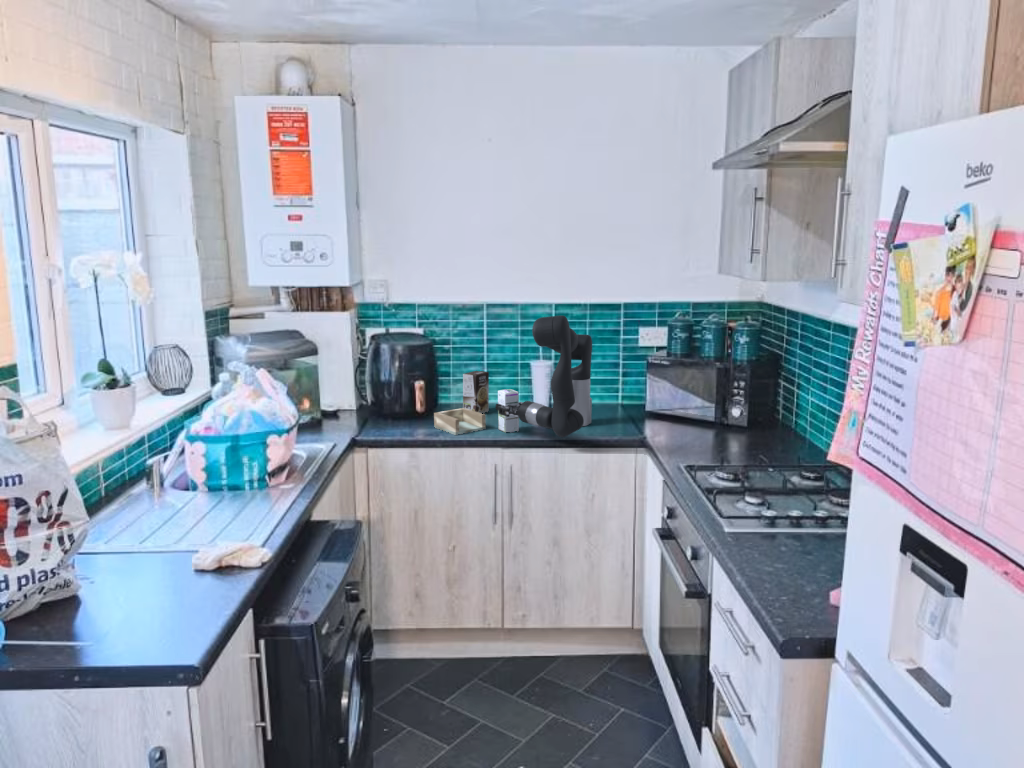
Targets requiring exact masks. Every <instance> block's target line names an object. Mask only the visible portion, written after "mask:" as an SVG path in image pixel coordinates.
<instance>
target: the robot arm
mask: <svg viewBox="0 0 1024 768" xmlns="http://www.w3.org/2000/svg"><path fill="white" fill-rule="evenodd" d="M531 329H532V330H531V331H532V337H533V339H534V342H535V343H536V344H537V346H539V347H542V348H545V347H546V348H549V349H550V350H553V352H556V353H558V354H560V357H559V360H558V361H557V362H558V363H557V365H556V367H555V368H554V371H553V373H552V375H551V381H550V390H551V396H552V402H553V403H552V407H550V406H547V405H544V404H542V403H538V402H534V401H532V400H531V401H530V400H526V401H524V402H522V401H519V405H508V406H505V405H501V404H498V403H496V404H495V410H496V411H497V412H498V411H499V414H501V415H504V416H507V417H509V416H510V415H515V416H518V417H519V420H520V421H521V422H522V423H526V424H529V425H533V426H536V427H541V428H545V429H548V430H549V429H550V430H552V431H553V433H554V434H555V435H556V436H557V437H559V438H565V437H567V436H569V435H571V434H573V433H575V432H577V431H578V430H580V429H581V428H582V427H587V426H588V425H590V424H592V414H593V412H592V411H593V406H592V405H593V398H592V397H591V373H592V369H591V368H592V356H593V355H592V353H593V340H592V336H591V335H590V334H580V333H578V334H577V332H576V331H575V330H573V329H572V328H571V327H570V322H569V319H568V318H567V317H566V315H554V316H553V315H552V316H542V317H539V318H537V319H535V320H534V322H533V326H532V328H531ZM572 360H574V361H577V360H578V361H581V362H580V364H578V365H577V366H574V367H572ZM511 407H512V411H511Z"/></svg>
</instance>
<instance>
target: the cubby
mask: <svg viewBox="0 0 1024 768" xmlns="http://www.w3.org/2000/svg"><path fill="white" fill-rule="evenodd" d="M486 421H487V420H486V413H483V414H482V413H479V412H475V411H472V410H469V409H466V408H463V407H461V408H456V409H455V408H454V409H449V410H444V411H443V410H442V411H438V412H433V423H434V424H433V425H434V426H433V427H435V429H437V430H439V429H440V431H442V430H443V431H442V432H445V431H446V433H448V432H449V433H448V434H451V435H454V436H459V435H458V434H460V435H464V434H463V433H465V434H468V432H470V433H474V432H473V431H475V432H479V431H478V430H480V431H484V430H483V429H485V430H486V427H487V426H486Z"/></svg>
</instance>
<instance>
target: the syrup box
mask: <svg viewBox="0 0 1024 768" xmlns="http://www.w3.org/2000/svg"><path fill="white" fill-rule="evenodd" d="M519 393H520V392H519V391H516V390H514V389H511V388H509V389H507V388H506V389H505V388H504V389H500V390H497V404H501V405H505V406H508V405H519V402H520V401H519V399H520V397H519V396H520V395H519ZM511 411H512V407H511ZM497 414H498V415H497V416H498V417H497V418H498V419H497V421H498V425H497V426H498V428H497V429H498V430H499V431H501V432H502V433H506V432H510V433H515V432H514V431H517V432H519V431H520V426H519V425H520V421H519V420H520V418H519V417H518V416H515V415H510V416H509V417H507V416H504V415H501V414H499V411H498V410H497ZM506 434H507V433H506Z"/></svg>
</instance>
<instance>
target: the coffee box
mask: <svg viewBox="0 0 1024 768" xmlns="http://www.w3.org/2000/svg"><path fill="white" fill-rule="evenodd" d="M489 373H490V372H489V371H484V370H482V371H480V370H473V371H469V372H466V373H462V408H466V409H469V410H472V411H475V412H479V413H483V414H486V413H485V412H487V413H489V412H488V411H489V410H490V408H489V407H490V406H489V403H490V402H489V400H490V399H489V398H490V397H489V393H490V392H489V391H490V390H489V389H490V388H489V387H490V386H489V383H490V382H489V377H490V375H489Z"/></svg>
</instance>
